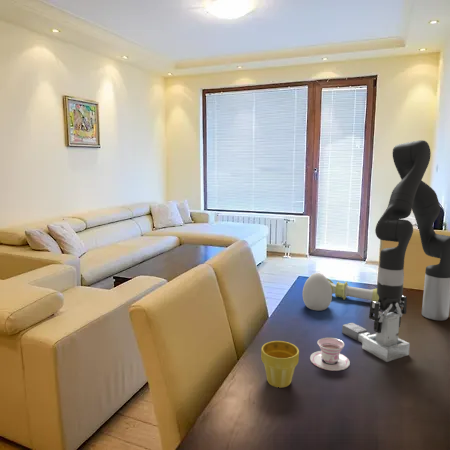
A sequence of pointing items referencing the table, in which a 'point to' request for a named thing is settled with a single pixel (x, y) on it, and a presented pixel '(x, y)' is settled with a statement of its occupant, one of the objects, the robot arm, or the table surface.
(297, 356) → the plant pot
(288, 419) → the table surface
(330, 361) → the teacup
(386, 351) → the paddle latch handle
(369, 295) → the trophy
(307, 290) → the decorative egg
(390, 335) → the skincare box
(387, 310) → the robot arm
